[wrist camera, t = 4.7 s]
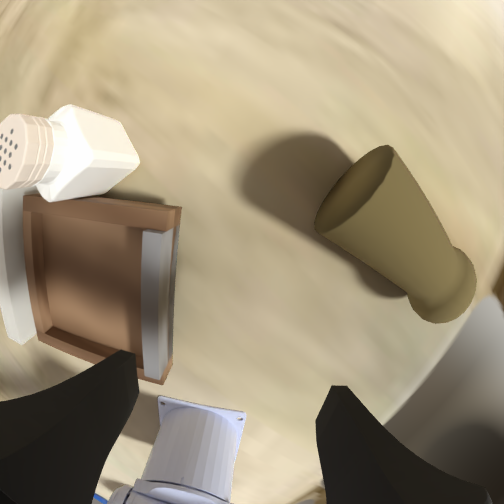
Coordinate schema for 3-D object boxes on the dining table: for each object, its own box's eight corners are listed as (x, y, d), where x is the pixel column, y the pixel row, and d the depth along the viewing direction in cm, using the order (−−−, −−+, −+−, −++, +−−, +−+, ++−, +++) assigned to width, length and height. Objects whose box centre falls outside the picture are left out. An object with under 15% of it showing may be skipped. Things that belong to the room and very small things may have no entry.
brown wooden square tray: (177, 353, 19) (160, 391, 15) (63, 319, 19) (34, 343, 15) (188, 204, 17) (163, 213, 12) (57, 191, 16) (17, 196, 12)
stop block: (54, 319, 20) (21, 345, 15) (40, 313, 19) (8, 337, 15) (47, 183, 17) (2, 188, 12) (32, 183, 16) (-11, 188, 12)
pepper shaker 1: (81, 152, 16) (-21, 148, 7) (121, 117, 15) (22, 84, 6) (103, 197, 17) (-2, 218, 8) (146, 164, 16) (44, 156, 7)
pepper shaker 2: (356, 155, 16) (445, 255, 18) (302, 228, 16) (405, 319, 18) (412, 134, 10) (501, 270, 12) (344, 239, 10) (456, 351, 12)
